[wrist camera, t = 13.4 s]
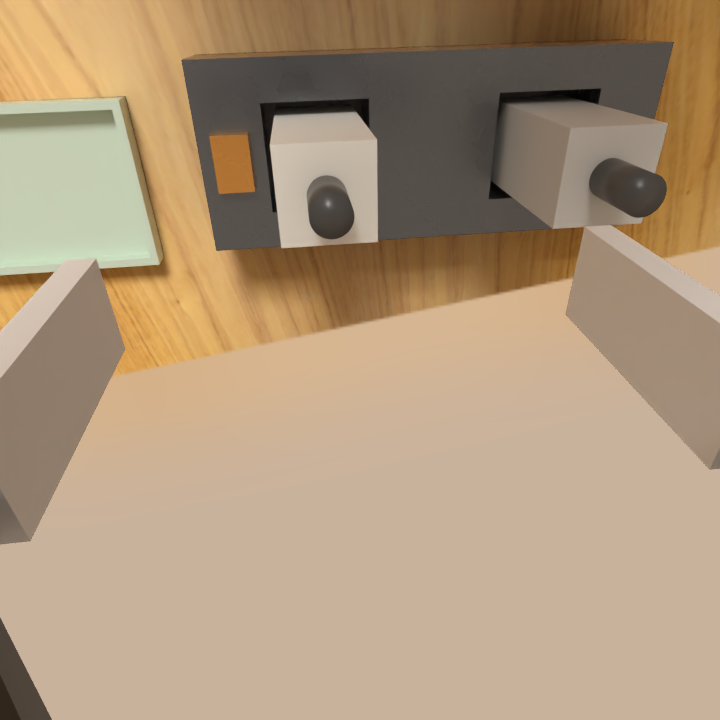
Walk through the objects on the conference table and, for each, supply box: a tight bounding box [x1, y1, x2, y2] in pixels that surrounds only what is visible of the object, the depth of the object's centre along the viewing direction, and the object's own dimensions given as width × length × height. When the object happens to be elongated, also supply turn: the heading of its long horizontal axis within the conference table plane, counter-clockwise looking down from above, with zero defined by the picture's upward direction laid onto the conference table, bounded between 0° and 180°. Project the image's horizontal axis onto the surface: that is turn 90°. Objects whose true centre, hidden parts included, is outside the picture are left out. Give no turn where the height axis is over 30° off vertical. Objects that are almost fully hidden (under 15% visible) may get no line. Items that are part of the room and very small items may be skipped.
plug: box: [270, 105, 378, 248], centre depth 27 cm, size 4×4×14 cm
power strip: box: [182, 39, 674, 251], centre depth 32 cm, size 10×26×6 cm, turn 91°
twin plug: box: [491, 95, 669, 229], centre depth 28 cm, size 4×4×14 cm
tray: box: [0, 96, 164, 275], centre depth 33 cm, size 10×13×2 cm
